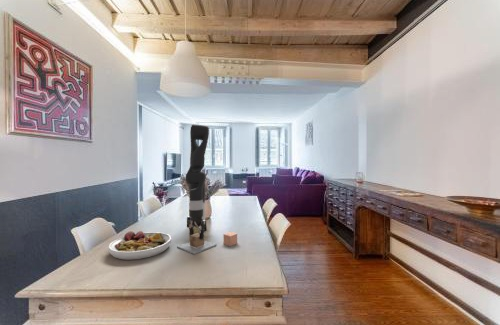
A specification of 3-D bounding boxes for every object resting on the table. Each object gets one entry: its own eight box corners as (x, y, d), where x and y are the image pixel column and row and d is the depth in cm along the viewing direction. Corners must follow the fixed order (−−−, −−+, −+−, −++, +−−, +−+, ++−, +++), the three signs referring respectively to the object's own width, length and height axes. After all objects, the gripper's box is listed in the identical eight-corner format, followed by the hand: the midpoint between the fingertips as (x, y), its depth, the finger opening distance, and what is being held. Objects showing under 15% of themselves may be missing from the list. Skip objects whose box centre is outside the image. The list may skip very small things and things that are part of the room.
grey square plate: (177, 247, 130) (177, 245, 130) (199, 240, 142) (199, 238, 142) (194, 254, 121) (194, 252, 121) (216, 245, 132) (216, 244, 132)
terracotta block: (223, 243, 136) (223, 234, 135) (230, 241, 140) (230, 231, 140) (230, 246, 132) (230, 236, 132) (237, 243, 136) (237, 233, 136)
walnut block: (189, 245, 131) (189, 235, 131) (197, 242, 135) (197, 232, 135) (196, 247, 127) (196, 237, 127) (204, 244, 132) (204, 234, 132)
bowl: (182, 247, 132) (182, 232, 132) (129, 268, 107) (128, 250, 107) (150, 237, 149) (150, 224, 148) (97, 253, 124) (97, 238, 124)
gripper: (210, 208, 129) (210, 238, 130) (193, 205, 138) (194, 233, 139) (199, 211, 124) (199, 242, 124) (182, 207, 133) (183, 236, 133)
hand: (196, 237), depth 131 cm, fingers open, 8 cm apart
